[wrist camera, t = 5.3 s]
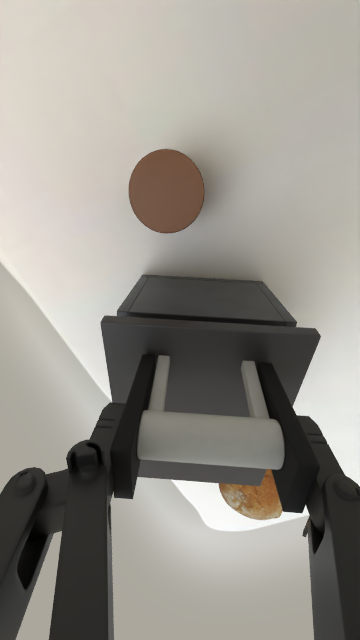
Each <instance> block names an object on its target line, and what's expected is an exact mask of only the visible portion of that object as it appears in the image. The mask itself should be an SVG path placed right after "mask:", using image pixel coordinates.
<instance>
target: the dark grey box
mask: <svg viewBox="0 0 360 640" xmlns="http://www.w3.org/2000/svg"><path fill="white" fill-rule="evenodd" d="M117 316H120V317H137V318H153V319H169V320H186V321H202V322H218V323H234V324H251V325H267V326H283V327H296V324H297V322H296V320H295V319H294V318H293V317H292V316H291V315H290V313H289V312H288V311H287V310H286V309H285V307H284V306H283V305H282V304H281V303H280V302H279V300H278V299H277V298H276V297H275V296H274V295H273V293H272V292H271V291H270V290H269V289H268V287H267V286H266V285H265V284H264V283H263V282H260V281H243V280H225V279H208V278H190V277H173V276H155V275H142V276H141V278H140V279H139V281H138V282H137V283H136V285H135V286H134V288H133V289H132V290H131V292H130V293H129V295H128V296H127V298H126V299H125V300H124V302H123V303H122V305H121V306H120V307H119V309H118V310H117Z"/></svg>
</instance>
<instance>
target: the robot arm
mask: <svg viewBox="0 0 360 640" xmlns="http://www.w3.org/2000/svg"><path fill="white" fill-rule="evenodd" d="M257 373H258V377H259V381H260V385H261V388H262V392H263V396H264V399H265V403H266V407H267V411H268V414H269V418H270V419H275V420H277V421H278V422H279V424H280V426H281V429H282V432H283V436H284V443H285V457H284V463H283V466H282V468H281V469H279V470H275V469H271V471H272V474H273V478H274V481H275V485H276V488H277V492H278V496H279V499H280V503H281V506H282V510H283V512H294V513H302V512H303V510H304V507H305V505H306V506H307V509H308V512H309V514H310V516H309V519H308V521H307V523H306V526H305V528H304V531H303V536H304V537H306V535H307V533H308V541H309V559H310V576H311V593H312V610H313V625H314V626H313V627H314V640H360V487H359V485H358V484H357V483H356V482H354V481H353V480H352V479H350V478H349V477H346V476H345V474H344V473H343V471H342V469H341V467H340V465H339V463H338V462H337V460H336V458H335V456H334V454H333V452H332V451H331V449H330V447H329V445H328V444H327V441H326V439H325V438H324V436H323V434H322V432H321V430H320V428H319V427H318V425H317V424H316V423H315V422H314V421H313V420H312V419H311V418H310V417H309V416H297V415H296V414H295V411H294V409H293V407H292V405H291V403H290V401H289V399H288V396H287V394H286V392H285V390H284V388H283V386H282V384H281V381H280V379H279V377H278V375H277V373H276V371H275V369H274V367H273V364H272V363H264V362H259V364H258V368H257ZM154 375H155V355H146V354H142V357H141V360H140V363H139V366H138V369H137V372H136V375H135V378H134V381H133V384H132V387H131V390H130V393H129V395H128V398H127V401H126V404H124V403H111V402H110V403H109V404H108V405H107V406H106V407H105V408H104V409H103V410H102V413H101V415H100V417H99V420H98V421H97V424H96V427H95V428H94V431H93V433H92V435H91V437H90V440H84V441H81V442H79V443H78V444H76V445H74V446H73V447H72V448H71V450H70V451H69V452H68V455H67V457H66V460H67V465H68V469H65V470H63V471H59V472H54V473H50V474H45V472H44V471H43V470H42V469H40V468H35V467H33V468H27V469H25V470H23V471H20V472H18V473H17V474H16V475H14V476H13V477H12V478H11V479H10V480H9V482H8V483H7V484H6V486H5V487H4V489H3V491H2V492H1V494H0V640H15V639H16V637H17V634H18V631H19V628H20V626H21V622H22V620H23V617H24V614H25V612H26V609H27V606H28V603H29V601H30V598H31V595H32V592H33V590H34V587H35V584H36V581H37V578H38V576H39V573H40V570H41V567H42V564H43V562H44V559H45V556H46V553H47V551H48V548H49V545H50V542H51V539H52V537H53V534H54V533H56V532H59V531H62V537H61V545H60V553H59V561H58V570H57V577H56V586H55V595H54V603H53V610H52V618H51V627H50V636H49V640H114V628H113V627H114V626H113V625H114V624H113V585H112V584H113V583H112V543H111V542H112V539H111V506H110V501H111V498H112V494H113V491H114V498H126V499H133V495H134V490H135V485H136V480H137V476H138V471H139V466H140V461H141V459H139V458H138V457H137V437H138V429H139V423H140V418H141V415H142V413H143V411H144V410H148V407H149V402H150V396H151V391H152V386H153V381H154Z"/></svg>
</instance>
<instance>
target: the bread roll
mask: <svg viewBox="0 0 360 640" xmlns="http://www.w3.org/2000/svg"><path fill="white" fill-rule="evenodd" d="M219 488H220V492H221V494H222V497H223V498H224V500H225V501H226V503H227V504H228V505H229V506H230V507H232V508H233V509H234V510H236V511H237V512H238V513H240V514H242V515H244V516H246V517H249V518H251V519H257V520H267V519H271V518H278V517H280V515H281V513H282V511H283V510H282V506H281V503H280V499H279V496H278V492H277V488H276V485H275V481H274V478H273V474H272V471H271V469H267V471H266V473H265V476H264V478H263V480H262V483H261V485H260V486H250V485H237V484H224V483H219Z"/></svg>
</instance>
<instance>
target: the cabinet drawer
mask: <svg viewBox="0 0 360 640" xmlns="http://www.w3.org/2000/svg"><path fill="white" fill-rule="evenodd" d="M101 330H102V336H103V343H104V349H105V356H106V362H107V369H108V376H109V382H110V389H111V395H112V402H113V403H124V404H126V401H127V398H128V395H129V393H130V390H131V387H132V384H133V381H134V378H135V375H136V372H137V369H138V366H139V363H140V360H141V357H142V354H146V355H155V375H154V381H153V386H152V391H151V396H150V402H149V407H148V410H144V411H143V413H142V415H141V418H140V423H139V429H138V437H137V457H138V458H139V459H141V461H140V466H139V471H138V476H137V477H147V478H161V479H173V480H186V481H198V482H211V483H224V484H237V485H250V486H260V485H261V483H262V480H263V478H264V476H265V473H266V471H267V469H275V470H279V469H281V468H282V466H283V463H284V457H285V443H284V436H283V432H282V429H281V426H280V424H279V422H278V421H277V420H275V419H270V418H269V414H268V411H267V407H266V403H265V399H264V396H263V392H262V388H261V385H260V381H259V377H258V373H257V368H258V364H259V362H264V363H272V364H273V367H274V369H275V371H276V373H277V375H278V377H279V379H280V381H281V384H282V386H283V388H284V390H285V392H286V394H287V396H288V399H289V401H290V403H291V405H292V406H293V404H294V402H295V399H296V397H297V394H298V392H299V389H300V387H301V384H302V382H303V379H304V377H305V374H306V372H307V370H308V367H309V365H310V362H311V360H312V357H313V355H314V352H315V350H316V347H317V345H318V342H319V340H320V337H321V336H320V334H319V333H318V331H317V330H316V329H315V328H300V327H283V326H267V325H251V324H234V323H218V322H202V321H186V320H169V319H153V318H137V317H120V316H104V317H103V319H102V321H101Z"/></svg>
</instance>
